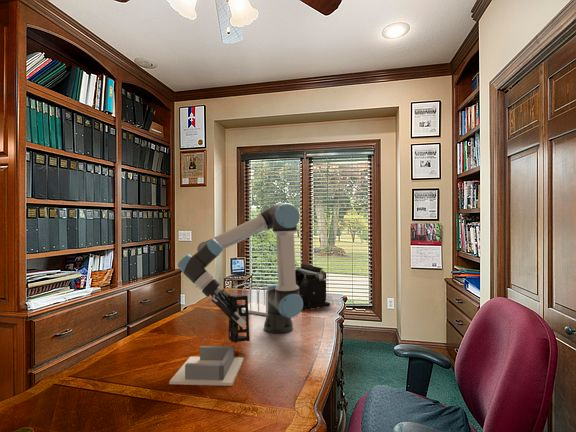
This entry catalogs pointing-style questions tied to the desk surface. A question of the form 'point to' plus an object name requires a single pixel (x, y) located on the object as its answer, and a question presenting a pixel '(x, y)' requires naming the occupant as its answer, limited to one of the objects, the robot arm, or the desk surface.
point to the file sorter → (255, 307)
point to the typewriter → (311, 286)
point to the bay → (210, 367)
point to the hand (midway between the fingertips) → (245, 322)
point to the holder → (234, 325)
